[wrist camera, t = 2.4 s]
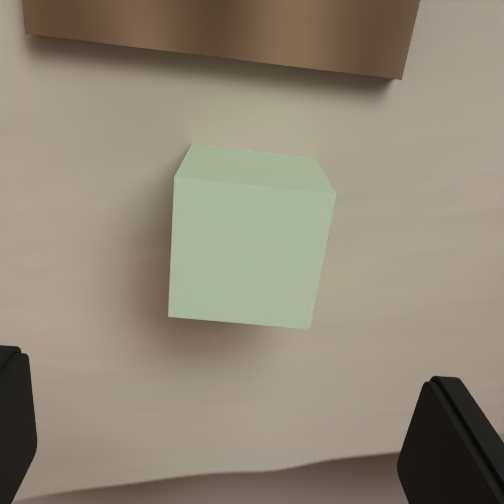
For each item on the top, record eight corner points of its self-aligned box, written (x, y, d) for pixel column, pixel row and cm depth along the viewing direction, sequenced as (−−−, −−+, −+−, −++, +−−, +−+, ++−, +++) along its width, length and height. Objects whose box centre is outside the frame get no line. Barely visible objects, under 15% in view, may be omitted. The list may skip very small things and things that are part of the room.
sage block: (314, 157, 22) (336, 194, 17) (295, 266, 25) (309, 329, 19) (191, 143, 22) (174, 176, 17) (185, 255, 25) (168, 316, 19)
